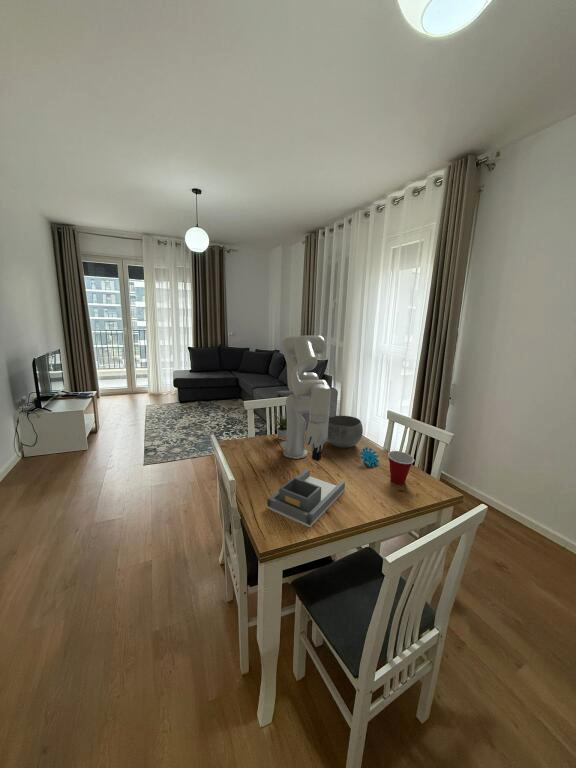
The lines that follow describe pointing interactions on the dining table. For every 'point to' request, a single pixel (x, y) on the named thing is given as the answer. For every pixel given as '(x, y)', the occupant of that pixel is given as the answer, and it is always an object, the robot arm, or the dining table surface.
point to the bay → (308, 519)
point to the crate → (300, 494)
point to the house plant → (281, 426)
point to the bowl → (344, 431)
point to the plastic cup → (399, 466)
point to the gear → (369, 457)
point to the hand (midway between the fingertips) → (316, 459)
